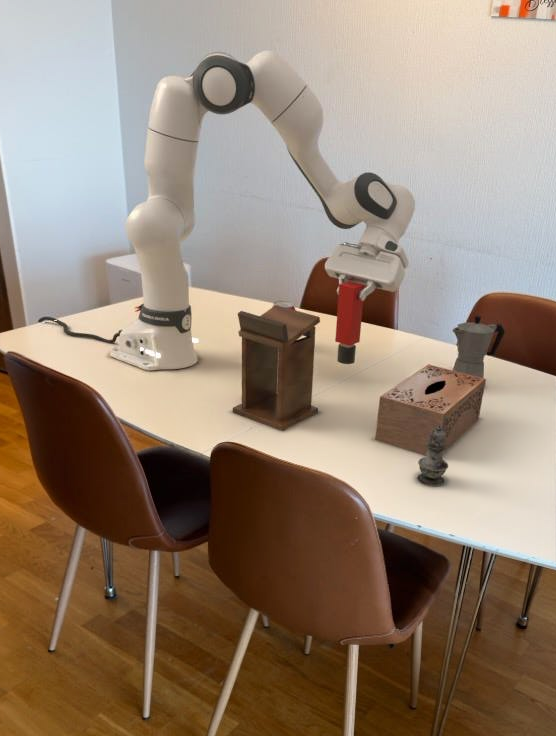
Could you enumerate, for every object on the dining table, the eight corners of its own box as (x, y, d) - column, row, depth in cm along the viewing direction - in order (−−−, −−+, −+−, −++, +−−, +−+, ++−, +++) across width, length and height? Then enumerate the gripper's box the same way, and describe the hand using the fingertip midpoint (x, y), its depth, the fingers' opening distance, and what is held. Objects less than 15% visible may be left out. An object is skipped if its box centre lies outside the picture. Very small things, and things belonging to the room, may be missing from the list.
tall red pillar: (359, 283, 177) (340, 279, 169) (374, 287, 175) (355, 283, 167) (342, 361, 183) (323, 360, 175) (356, 365, 181) (337, 365, 173)
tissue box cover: (422, 403, 174) (428, 364, 169) (478, 418, 168) (486, 378, 163) (375, 439, 154) (379, 396, 149) (436, 458, 149) (443, 414, 143)
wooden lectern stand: (271, 395, 170) (273, 299, 158) (318, 412, 164) (324, 313, 152) (232, 412, 160) (232, 311, 148) (281, 430, 154) (284, 326, 142)
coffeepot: (453, 392, 182) (465, 322, 173) (435, 379, 189) (446, 311, 180) (504, 388, 188) (517, 320, 178) (485, 375, 195) (497, 309, 186)
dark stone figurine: (413, 472, 143) (421, 416, 136) (442, 473, 143) (451, 418, 137) (418, 486, 138) (427, 430, 131) (448, 487, 138) (458, 431, 132)
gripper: (335, 232, 175) (309, 279, 173) (407, 248, 166) (381, 297, 164) (344, 249, 180) (319, 295, 178) (414, 265, 171) (389, 313, 169)
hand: (349, 296), depth 171 cm, fingers closed on tall red pillar, 4 cm apart
